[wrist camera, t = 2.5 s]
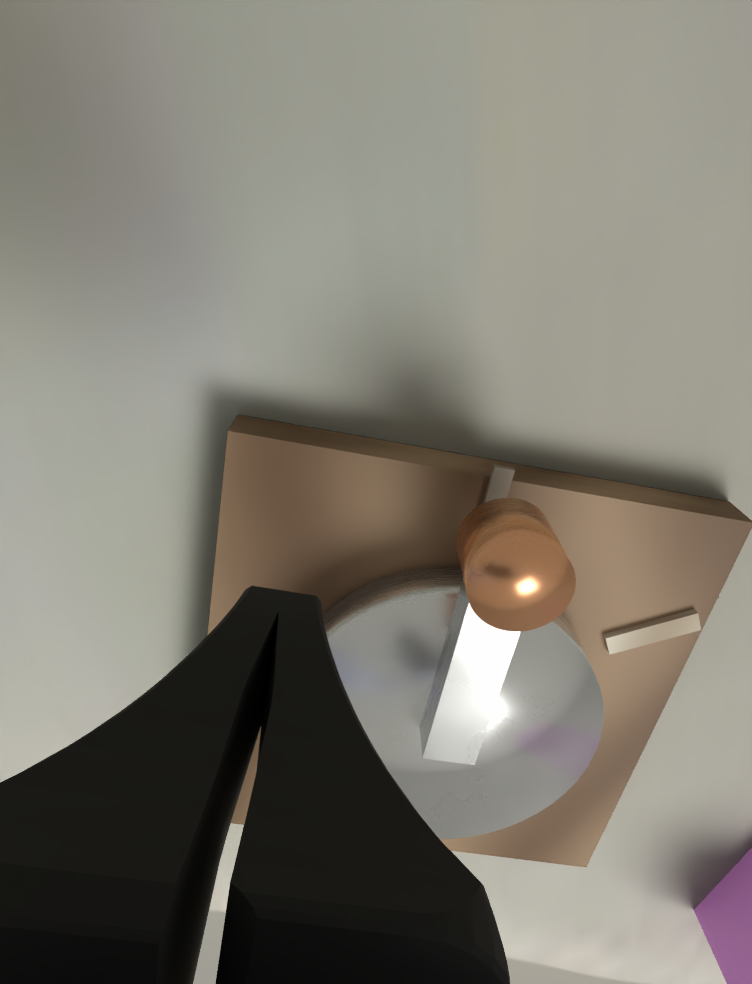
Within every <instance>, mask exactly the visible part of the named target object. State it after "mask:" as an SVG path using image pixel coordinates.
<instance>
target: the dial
mask: <svg viewBox="0 0 752 984" xmlns="http://www.w3.org/2000/svg"><path fill="white" fill-rule="evenodd" d="M456 550H457V554H458V558H459V562H460V567H459V566H432V567H424V568H416V569H410V570H406V571H402V572H398V573H394V574H390V575H388V576H385V577H382V578H379V579H377V580H374V581H372V582H370V583H368V584H366V585H364V586H362V587H360V588H358V589H356V590H354V591H353V592H351V593H350V594H348V595H347V596H345V597H344V598H342V599H341V600H339V601H338V602H337V603H336V604H335V605H334V606H332V607H331V608H330V609H329V610H328V611H327V612H326V613H325V614H324V615H323V622H324V626H325V631H326V635H327V638H328V642H329V646H330V649H331V652H332V655H333V658H334V661H335V664H336V667H337V669H338V672H339V675H340V678H341V680H342V683H343V685H344V688H345V690H346V692H347V695H348V697H349V699H350V702H351V704H352V706H353V708H354V710H355V713H356V715H357V717H358V719H359V721H360V723H361V725H362V727H363V729H364V730H365V732H366V734H367V736H368V738H369V739H370V741H371V743H372V745H373V747H374V748H375V750H376V752H377V753H378V755H379V757H380V758H381V760H382V762H383V763H384V765H385V766H386V768H387V770H388V771H389V773H390V774H391V776H392V777H393V778H394V780H395V781H396V783H397V784H398V785H399V787H400V788H401V790H402V791H403V792H404V794H405V795H406V797H407V798H408V799H409V801H410V802H411V804H412V805H413V806H414V808H415V809H416V811H417V812H418V813H419V815H420V816H421V817H422V818H423V820H424V821H425V822H426V823H427V824H428V826H429V827H430V828H431V829H432V831H433V832H434V833H435V834H436V836H437V837H438V838H439V839H455V838H465V837H471V836H477V835H482V834H487V833H490V832H494V831H497V830H501V829H504V828H507V827H509V826H512V825H514V824H517V823H519V822H522V821H524V820H526V819H527V818H529V817H531V816H533V815H535V814H537V813H539V812H540V811H542V810H543V809H545V808H547V807H548V806H550V805H551V804H553V803H554V802H555V801H556V800H557V799H559V798H560V797H561V796H562V795H564V794H565V793H566V792H567V791H568V790H569V789H570V788H571V787H572V786H573V785H574V784H575V783H576V781H577V780H578V779H579V778H580V776H581V775H582V774H583V772H584V771H585V770H586V768H587V767H588V765H589V763H590V761H591V759H592V758H593V756H594V754H595V752H596V749H597V746H598V743H599V741H600V738H601V732H602V727H603V713H604V706H603V700H602V694H601V689H600V686H599V684H598V681H597V678H596V675H595V673H594V671H593V669H592V667H591V664H590V662H589V660H588V658H587V656H586V654H585V651H584V649H583V647H582V645H581V643H580V641H579V639H578V637H577V635H576V633H575V631H574V630H573V628H572V626H571V624H570V623H569V622H568V620H567V619H566V618H565V617H564V615H563V614H562V613H563V611H564V610H565V609H566V608H567V606H568V605H569V603H570V602H571V600H572V597H573V595H574V592H575V586H576V576H575V571H574V568H573V566H572V564H571V562H570V560H569V558H568V556H567V555H566V553H565V551H564V549H563V547H562V545H561V544H560V542H559V540H558V538H557V536H556V534H555V532H554V531H553V529H552V527H551V525H550V523H549V521H548V520H547V518H546V516H545V515H544V513H543V512H542V511H541V510H540V509H539V508H537V507H536V506H535V505H533V504H531V503H530V502H527V501H525V500H521V499H517V498H498V499H494V500H490V501H488V502H485V503H483V504H481V505H479V506H478V507H476V508H475V509H473V510H472V511H471V512H470V513H469V514H468V515H467V516H466V517H465V519H464V520H463V522H462V523H461V525H460V527H459V529H458V532H457V537H456Z"/></svg>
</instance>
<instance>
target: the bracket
mask: <svg viewBox="0 0 752 984" xmlns="http://www.w3.org/2000/svg"><path fill="white" fill-rule="evenodd" d="M694 912H695V914H696V916H697V918H698V920H699V923H700V925H701V927H702V929H703V931H704V934H705V936H706V938H707V940H708V943H709V945H710V947H711V949H712V951H713V954H714V956H715V958H716V960H717V962H718V965H719V967H720V969H721V971H722V973H723V976H724V978H725V980H726V982H727V984H752V848H751V849H750V850H749V851H748V852H747V853H746V854H745V855H744V856H743V858H742V859H741V860H740V861H739V862H738V863H737V864H736V865H735V866H734V867H733V868H732V869H731V870H730V871H729V873H728V874H727V875H726V876H725V877H724V878H723V879H722V880H721V881H720V882H719V883H718V884H717V885H716V886H715V888H714V889H713V890H712V891H711V892H710V893H709V894H708V895H707V896H706V897H705V898H704V899H703V900H702V901H701V903H700V904H699V905H698V906H697V907H696V908H695V909H694Z"/></svg>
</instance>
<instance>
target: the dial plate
mask: <svg viewBox="0 0 752 984" xmlns="http://www.w3.org/2000/svg"><path fill="white" fill-rule="evenodd" d="M498 498H517V499H521V500H525V501H527V502H530V503H531V504H533V505H535V506H536V507H537V508H539V509H540V510H541V511H542V512H543V513H544V515H545V516H546V518H547V520H548V521H549V523H550V525H551V527H552V529H553V531H554V532H555V534H556V536H557V538H558V540H559V542H560V544H561V545H562V547H563V549H564V551H565V553H566V555H567V556H568V558H569V560H570V562H571V564H572V566H573V568H574V571H575V576H576V586H575V592H574V595H573V597H572V600H571V602H570V603H569V605H568V606H567V608H566V609H565V610H564V611H563V613H562V614H563V615H564V617H565V618H566V619H567V620H568V622H569V623H570V624H571V626H572V628H573V630H574V631H575V633H576V635H577V637H578V639H579V641H580V643H581V645H582V647H583V649H584V651H585V654H586V656H587V658H588V660H589V662H590V664H591V667H592V669H593V671H594V673H595V675H596V678H597V681H598V684H599V686H600V689H601V694H602V700H603V706H604V713H603V727H602V732H601V738H600V741H599V743H598V746H597V749H596V752H595V754H594V756H593V758H592V759H591V761H590V763H589V765H588V767H587V768H586V770H585V771H584V772H583V774H582V775H581V776H580V778H579V779H578V780H577V781H576V783H575V784H574V785H573V786H572V787H571V788H570V789H569V790H568V791H567V792H566V793H565V794H564V795H562V796H561V797H560V798H559V799H557V800H556V801H555V802H554V803H553V804H551V805H550V806H548V807H547V808H545V809H543V810H542V811H540V812H539V813H537V814H535V815H533V816H531V817H529V818H527V819H526V820H524V821H522V822H519V823H517V824H514V825H512V826H509V827H507V828H504V829H501V830H497V831H494V832H490V833H487V834H482V835H477V836H471V837H465V838H455V839H440V840H441V841H442V842H443V844H444V845H445V846H446V847H447V848H448V849H449V850H451V851H459V852H467V853H475V854H483V855H491V856H499V857H507V858H515V859H523V860H531V861H539V862H547V863H555V864H563V865H571V866H579V867H587V864H588V862H589V860H590V858H591V856H592V854H593V852H594V850H595V848H596V846H597V844H598V842H599V840H600V838H601V836H602V834H603V832H604V830H605V828H606V826H607V824H608V821H609V819H610V817H611V815H612V813H613V811H614V809H615V807H616V805H617V803H618V801H619V799H620V797H621V795H622V793H623V791H624V789H625V787H626V785H627V783H628V780H629V778H630V776H631V774H632V772H633V770H634V768H635V766H636V764H637V762H638V760H639V758H640V756H641V754H642V752H643V750H644V748H645V746H646V744H647V742H648V739H649V737H650V735H651V733H652V731H653V729H654V727H655V725H656V723H657V721H658V719H659V717H660V715H661V713H662V711H663V709H664V707H665V705H666V703H667V701H668V698H669V696H670V694H671V692H672V690H673V688H674V686H675V684H676V682H677V680H678V678H679V676H680V674H681V672H682V670H683V668H684V666H685V664H686V662H687V660H688V657H689V655H690V653H691V651H692V649H693V647H694V645H695V643H696V641H697V639H698V637H699V635H700V633H701V631H702V629H703V627H704V625H705V623H706V621H707V619H708V616H709V614H710V612H711V610H712V608H713V606H714V604H715V602H716V600H717V598H718V596H719V594H720V592H721V590H722V588H723V586H724V584H725V582H726V580H727V578H728V575H729V573H730V571H731V569H732V567H733V565H734V563H735V561H736V559H737V557H738V555H739V553H740V551H741V549H742V547H743V545H744V543H745V541H746V539H747V537H748V534H749V532H750V530H751V528H752V521H751V520H750V519H749V518H748V517H747V516H745V515H744V514H743V513H742V512H741V511H740V510H738V509H737V508H736V507H735V506H734V505H733V504H731V503H730V502H728V501H723V500H717V499H711V498H706V497H700V496H694V495H689V494H683V493H677V492H672V491H666V490H661V489H655V488H649V487H644V486H638V485H632V484H627V483H621V482H615V481H610V480H604V479H598V478H593V477H587V476H582V475H576V474H570V473H565V472H559V471H553V470H548V469H542V468H536V467H531V466H525V465H519V464H514V463H508V462H502V461H497V460H491V459H486V458H480V457H474V456H469V455H463V454H457V453H452V452H446V451H440V450H435V449H429V448H423V447H418V446H412V445H407V444H401V443H395V442H390V441H384V440H378V439H373V438H367V437H361V436H356V435H350V434H344V433H339V432H333V431H328V430H322V429H316V428H311V427H305V426H299V425H294V424H288V423H282V422H277V421H271V420H265V419H260V418H254V417H249V416H243V415H237V417H236V418H235V420H234V422H233V423H232V425H231V426H230V428H229V430H228V434H227V444H226V454H225V464H224V474H223V484H222V494H221V504H220V514H219V524H218V534H217V545H216V555H215V565H214V575H213V585H212V595H211V605H210V615H209V625H208V634H209V633H210V632H211V631H212V630H213V629H214V628H215V627H216V626H217V625H218V624H219V623H220V621H221V620H222V619H223V618H224V617H225V616H226V615H227V613H228V612H229V611H230V610H231V609H232V607H233V606H234V605H235V603H236V602H237V601H238V599H239V598H240V597H241V595H242V594H243V592H244V591H245V590H246V589H247V588H249V587H250V586H258V587H264V588H270V589H277V590H283V591H290V592H296V593H302V594H309V595H315V596H317V597H318V598H319V600H320V601H321V608H322V616H323V615H324V614H325V613H326V612H327V611H328V610H329V609H330V608H331V607H332V606H334V605H335V604H336V603H337V602H338V601H339V600H341V599H342V598H344V597H345V596H347V595H348V594H350V593H351V592H353V591H354V590H356V589H358V588H360V587H362V586H364V585H366V584H368V583H370V582H372V581H374V580H377V579H379V578H382V577H385V576H388V575H390V574H394V573H398V572H402V571H406V570H410V569H416V568H424V567H432V566H459V567H460V562H459V558H458V554H457V550H456V537H457V532H458V529H459V527H460V525H461V523H462V522H463V520H464V519H465V517H466V516H467V515H468V514H469V513H470V512H471V511H472V510H473V509H475V508H476V507H478V506H479V505H481V504H483V503H485V502H488V501H490V500H494V499H498ZM207 636H208V635H207ZM260 732H261V727H260V731H259V734H258V737H257V740H256V744H255V747H254V750H253V753H252V756H251V760H250V763H249V766H248V769H247V772H246V776H245V779H244V782H243V785H242V788H241V791H240V795H239V798H238V801H237V804H236V807H235V811H234V814H233V817H232V820H231V823H235V824H243V825H244V824H245V820H246V815H247V811H248V807H249V802H250V798H251V793H252V789H253V785H254V780H255V776H256V771H257V761H258V752H259V742H260Z"/></svg>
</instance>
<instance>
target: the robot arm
mask: <svg viewBox="0 0 752 984" xmlns="http://www.w3.org/2000/svg"><path fill="white" fill-rule="evenodd" d="M260 727H261V732H260V742H259V752H258V761H257V771H256V776H255V780H254V785H253V789H252V793H251V798H250V802H249V807H248V811H247V815H246V820H245V824H244V828H243V832H242V836H241V841H240V845H239V849H238V853H237V857H236V862H235V866H234V870H233V874H232V878H231V882H230V889H229V895H228V902H227V909H226V916H225V923H224V930H223V937H222V944H221V951H220V957H219V964H218V971H217V978H216V984H510V977H509V971H508V965H507V960H506V956H505V952H504V948H503V944H502V941H501V938H500V934H499V931H498V927H497V924H496V921H495V917H494V914H493V911H492V908H491V906H490V903H489V900H488V897H487V894H486V891H485V888H484V886H483V885H482V883H481V882H480V881H479V880H478V879H477V878H476V877H475V876H474V875H473V874H472V873H471V872H470V871H469V870H468V869H467V868H466V867H465V866H464V864H463V863H462V862H461V861H460V860H459V859H458V858H457V857H456V856H455V855H454V854H453V853H452V852H451V851H450V850H449V849H448V848H447V847H446V846H445V845H444V844H443V842H442V841H441V840H440V839H439V838H438V837H437V836H436V834H435V833H434V832H433V831H432V829H431V828H430V827H429V826H428V824H427V823H426V822H425V821H424V820H423V818H422V817H421V816H420V815H419V813H418V812H417V811H416V809H415V808H414V806H413V805H412V804H411V802H410V801H409V799H408V798H407V797H406V795H405V794H404V792H403V791H402V790H401V788H400V787H399V785H398V784H397V783H396V781H395V780H394V778H393V777H392V776H391V774H390V773H389V771H388V770H387V768H386V766H385V765H384V763H383V762H382V760H381V758H380V757H379V755H378V753H377V752H376V750H375V748H374V747H373V745H372V743H371V741H370V739H369V738H368V736H367V734H366V732H365V730H364V729H363V727H362V725H361V723H360V721H359V719H358V717H357V715H356V713H355V710H354V708H353V706H352V704H351V702H350V699H349V697H348V695H347V692H346V690H345V688H344V685H343V683H342V680H341V678H340V675H339V672H338V669H337V667H336V664H335V661H334V658H333V655H332V652H331V649H330V646H329V642H328V638H327V635H326V631H325V626H324V622H323V616H322V608H321V601H320V600H319V598H318V597H317V596H315V595H309V594H302V593H296V592H290V591H283V590H277V589H270V588H264V587H258V586H250V587H249V588H247V589H246V590H245V591H244V592H243V594H242V595H241V597H240V598H239V599H238V601H237V602H236V603H235V605H234V606H233V607H232V609H231V610H230V611H229V612H228V613H227V615H226V616H225V617H224V618H223V619H222V620H221V621H220V623H219V624H218V625H217V626H216V627H215V628H214V629H213V630H212V631H211V632H210V633H209V634H208V636H207V637H206V638H205V639H204V640H203V641H202V642H201V643H200V644H199V645H198V646H197V647H196V648H195V649H194V650H193V651H192V652H191V653H190V654H189V655H188V656H187V657H186V658H185V659H183V660H182V661H181V662H180V663H179V664H178V665H177V666H176V667H175V668H174V669H173V670H171V671H170V672H169V673H168V674H167V675H166V676H165V677H164V678H163V679H161V680H160V681H159V682H158V683H157V684H155V685H154V686H153V687H152V688H151V689H149V690H148V691H147V692H146V693H144V694H143V695H142V696H141V697H139V698H138V699H137V700H135V701H134V702H133V703H131V704H130V705H129V706H127V707H126V708H125V709H123V710H122V711H121V712H119V713H118V714H116V715H115V716H113V717H112V718H110V719H109V720H107V721H106V722H104V723H103V724H102V725H100V726H99V727H97V728H96V729H94V730H93V731H91V732H90V733H88V734H87V735H85V736H83V737H82V738H80V739H79V740H77V741H76V742H74V743H72V744H71V745H69V746H67V747H66V748H64V749H62V750H60V751H58V752H57V753H55V754H53V755H51V756H49V757H48V758H46V759H44V760H42V761H41V762H39V763H37V764H35V765H33V766H32V767H30V768H28V769H26V770H24V771H23V772H21V773H19V774H17V775H15V776H13V777H11V778H9V779H7V780H5V781H3V782H1V783H0V984H193V981H194V976H195V971H196V967H197V962H198V957H199V953H200V948H201V944H202V939H203V934H204V930H205V925H206V921H207V916H208V912H209V907H210V902H211V898H212V893H213V889H214V884H215V880H216V875H217V871H218V866H219V862H220V858H221V854H222V851H223V847H224V843H225V840H226V836H227V833H228V830H229V826H230V823H231V820H232V817H233V814H234V811H235V807H236V804H237V801H238V798H239V795H240V791H241V788H242V785H243V782H244V779H245V776H246V772H247V769H248V766H249V763H250V760H251V756H252V753H253V750H254V747H255V744H256V740H257V737H258V734H259V731H260Z"/></svg>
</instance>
